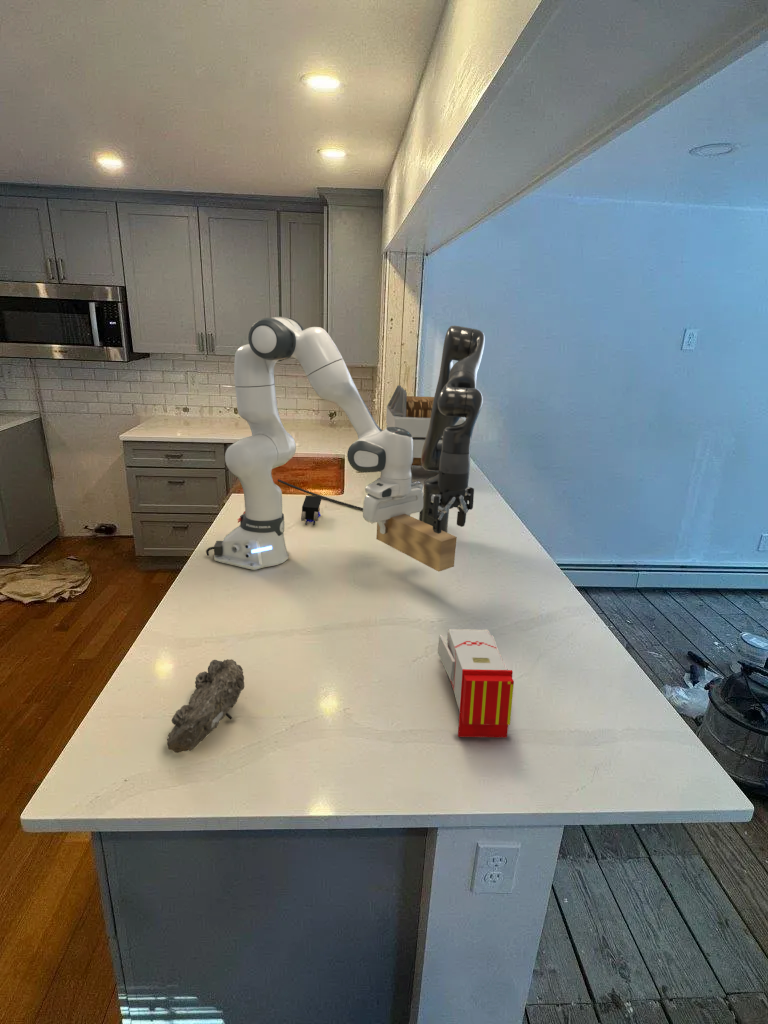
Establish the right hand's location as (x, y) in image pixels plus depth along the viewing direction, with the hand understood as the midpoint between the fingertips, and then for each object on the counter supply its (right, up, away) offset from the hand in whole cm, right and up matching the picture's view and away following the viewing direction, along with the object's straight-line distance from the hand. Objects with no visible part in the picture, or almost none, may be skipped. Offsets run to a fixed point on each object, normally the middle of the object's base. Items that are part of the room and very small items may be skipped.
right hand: (448, 529), depth 147 cm
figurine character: (-43, +1, +62) cm, 76 cm away
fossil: (-50, -35, -38) cm, 72 cm away
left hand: (-14, -1, +18) cm, 23 cm away
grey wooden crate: (0, +23, +128) cm, 130 cm away
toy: (+1, -33, -28) cm, 44 cm away
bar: (-9, -7, +13) cm, 17 cm away
